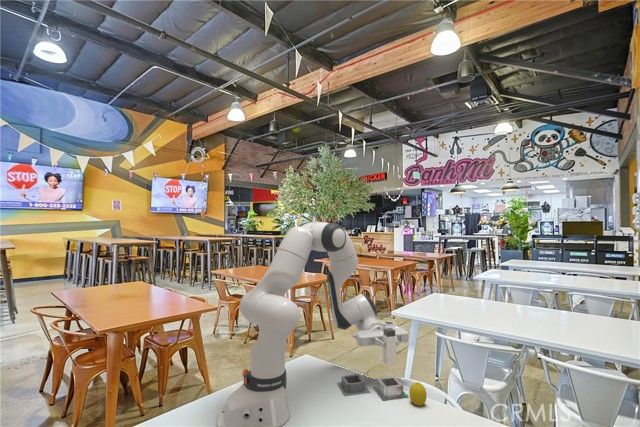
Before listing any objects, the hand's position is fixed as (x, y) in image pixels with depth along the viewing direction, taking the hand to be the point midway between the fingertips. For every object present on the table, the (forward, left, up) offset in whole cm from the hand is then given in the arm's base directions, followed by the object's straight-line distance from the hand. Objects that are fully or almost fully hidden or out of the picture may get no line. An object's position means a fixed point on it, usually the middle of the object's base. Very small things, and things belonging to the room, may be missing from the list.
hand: (390, 344), depth 114 cm
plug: (0, +1, -7) cm, 7 cm away
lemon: (+6, -8, -18) cm, 21 cm away
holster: (-12, +7, -18) cm, 23 cm away
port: (0, +1, -18) cm, 18 cm away
